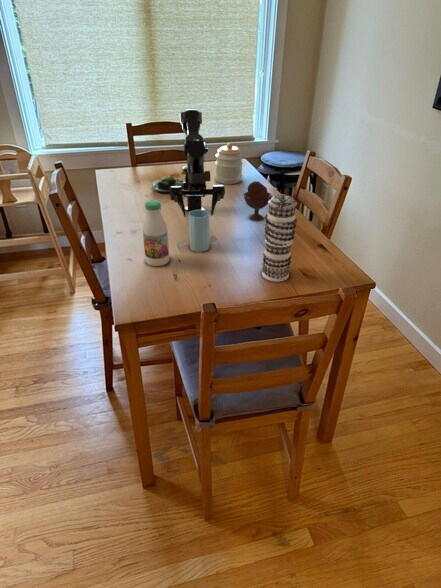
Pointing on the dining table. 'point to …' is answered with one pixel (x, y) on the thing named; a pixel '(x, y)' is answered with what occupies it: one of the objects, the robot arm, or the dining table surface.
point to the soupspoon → (185, 168)
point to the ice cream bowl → (256, 198)
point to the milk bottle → (155, 235)
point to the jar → (229, 164)
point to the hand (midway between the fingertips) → (198, 216)
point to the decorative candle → (279, 237)
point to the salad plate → (167, 184)
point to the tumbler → (199, 230)
